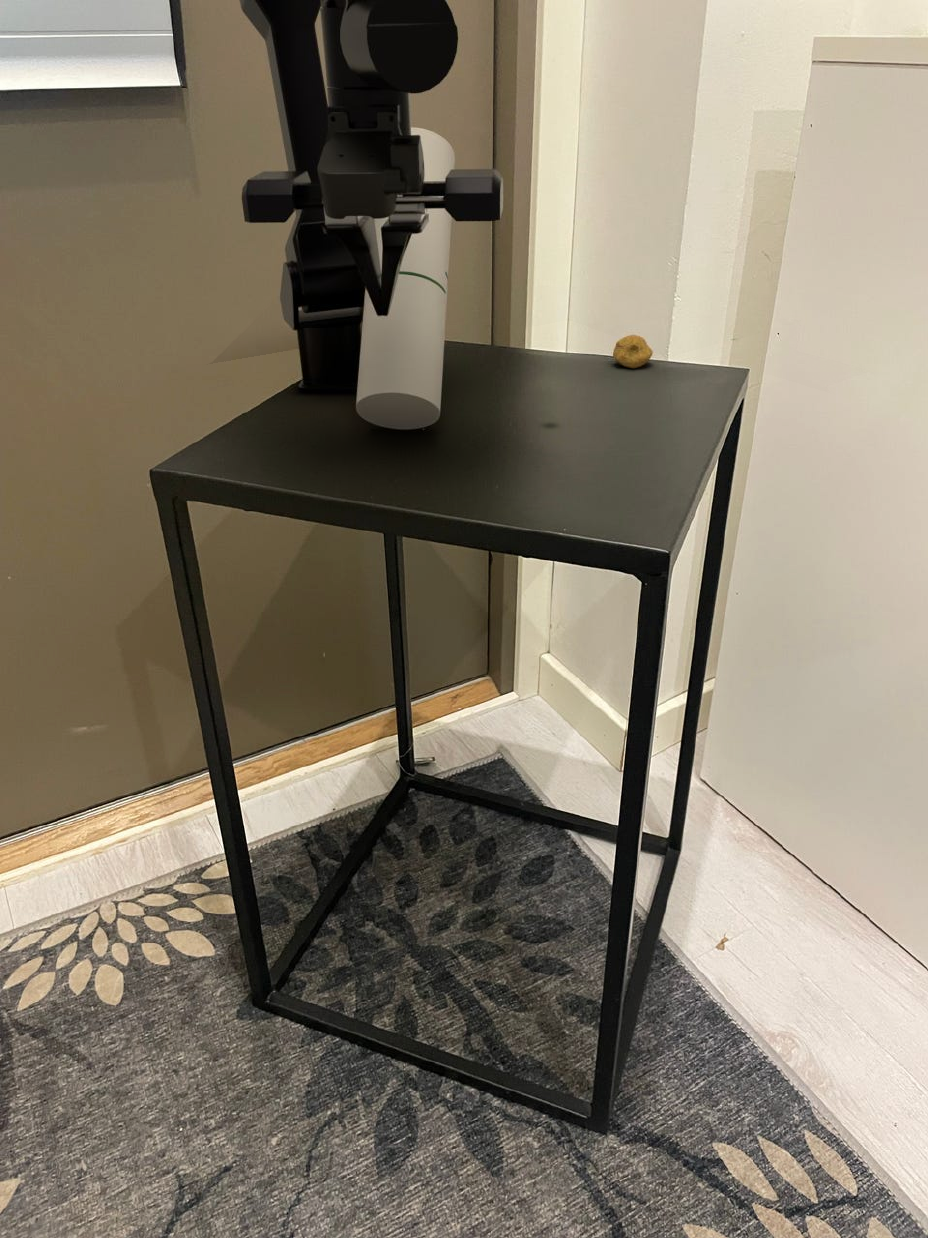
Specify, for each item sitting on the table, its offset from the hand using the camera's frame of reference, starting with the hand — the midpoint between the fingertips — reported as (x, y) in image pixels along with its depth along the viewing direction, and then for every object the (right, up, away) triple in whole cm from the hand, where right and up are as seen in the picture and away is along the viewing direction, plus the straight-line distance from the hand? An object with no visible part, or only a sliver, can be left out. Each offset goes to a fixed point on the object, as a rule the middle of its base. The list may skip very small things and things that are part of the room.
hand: (383, 314), depth 73 cm
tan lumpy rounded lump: (+24, +2, +23) cm, 33 cm away
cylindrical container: (+1, -7, +5) cm, 9 cm away
